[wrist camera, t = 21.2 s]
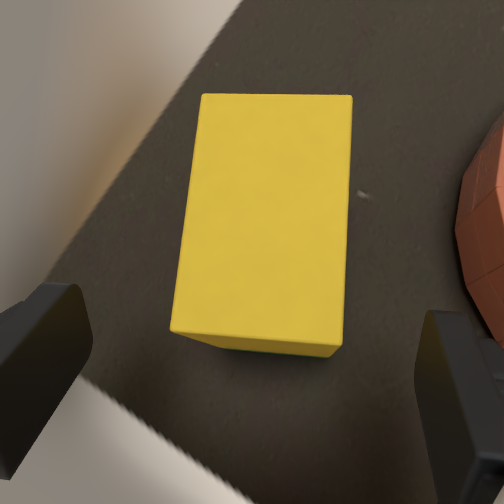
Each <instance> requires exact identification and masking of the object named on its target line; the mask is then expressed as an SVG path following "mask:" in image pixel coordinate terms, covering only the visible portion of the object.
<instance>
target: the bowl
mask: <svg viewBox="0 0 504 504" xmlns="http://www.w3.org/2000/svg"><path fill="white" fill-rule="evenodd" d="M455 233H456V238H457V244H458V249H459V254H460V259H461V264H462V269H463V275H464V280H465V285H466V287H467V289H468V291H469V293H470V295H471V296H472V298H473V300H474V302H475V304H476V306H477V307H478V309H479V311H480V313H481V315H482V316H483V318H484V320H485V322H486V324H487V325H488V327H489V329H490V331H491V333H492V335H493V336H494V338H495V340H496V342H498V344H499V345H500V346H501V347H502V348H503V349H504V111H503V112H502V113H501V115H500V116H499V117H498V119H497V120H496V122H495V123H494V124H493V126H492V127H491V128H490V130H489V131H488V133H487V134H486V136H485V138H484V140H483V141H482V143H481V145H480V147H479V149H478V150H477V152H476V154H475V156H474V157H473V159H472V161H471V163H470V164H469V166H468V168H467V170H466V171H465V173H464V175H463V179H462V186H461V192H460V199H459V205H458V211H457V218H456V224H455Z"/></svg>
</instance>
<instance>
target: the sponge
mask: <svg viewBox="0 0 504 504" xmlns="http://www.w3.org/2000/svg"><path fill="white" fill-rule="evenodd" d="M352 105H353V98H352V96H351V95H290V94H202V96H201V103H200V110H199V118H198V125H197V132H196V140H195V147H194V154H193V162H192V169H191V176H190V184H189V191H188V198H187V206H186V213H185V220H184V228H183V235H182V242H181V250H180V257H179V264H178V272H177V279H176V286H175V294H174V301H173V308H172V316H171V323H170V331H172V332H174V333H177V334H180V335H183V336H186V337H189V338H192V339H195V340H198V341H201V342H204V343H207V344H210V345H213V346H216V347H220V348H223V349H226V350H237V351H248V352H259V353H270V354H282V355H293V356H304V357H315V358H326V359H327V358H329V357H330V356H331V355H332V354H333V353H334V352H335V351H336V350H337V349H338V348H339V347H340V346H341V345H342V343H343V319H344V295H345V271H346V248H347V224H348V200H349V176H350V153H351V129H352Z"/></svg>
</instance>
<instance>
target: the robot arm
mask: <svg viewBox="0 0 504 504" xmlns="http://www.w3.org/2000/svg"><path fill="white" fill-rule="evenodd" d="M92 344H93V336H92V331H91V327H90V323H89V319H88V315H87V311H86V307H85V303H84V299H83V295H82V291H81V289H80V287H79V286H78V285H76V284H66V283H52V282H44V283H42V284H41V285H39V286H38V287H37V289H36V290H35V291H34V292H33V293H32V294H31V295H30V296H29V297H28V298H27V299H26V300H25V301H21V302H19V303H17V304H15V305H14V306H13V307H10V308H9V309H7V310H5V311H4V312H2V313H0V479H4V480H10V479H11V478H12V476H13V474H14V473H15V472H16V470H17V468H18V467H19V465H20V464H21V462H22V461H23V459H24V457H25V456H26V454H27V453H28V451H29V450H30V448H31V447H32V445H33V443H34V442H35V441H36V439H37V437H38V436H39V434H40V433H41V431H42V430H43V428H44V427H45V425H46V424H47V422H48V420H49V419H50V417H51V416H52V414H53V413H54V411H55V410H56V408H57V406H58V405H59V403H60V402H61V400H62V399H63V397H64V396H65V394H66V393H67V391H68V390H69V388H70V386H71V385H72V383H73V382H74V380H75V379H76V377H77V376H78V374H79V373H80V371H81V369H82V368H83V366H84V365H85V363H86V362H87V360H88V358H89V356H90V353H91V350H92ZM414 384H415V392H416V397H417V402H418V407H419V411H420V416H421V421H422V426H423V431H424V435H425V440H426V445H427V450H428V455H429V460H430V464H431V469H432V474H433V479H434V484H435V488H436V493H437V498H438V503H439V504H504V349H503V348H502V347H501V346H500V345H499V344H498V343H497V342H496V341H494V340H493V339H492V338H479V337H477V336H476V333H475V331H474V328H473V326H472V324H471V321H470V319H469V317H468V315H467V314H466V313H465V312H451V311H437V310H428V311H427V313H426V316H425V319H424V324H423V329H422V334H421V338H420V343H419V348H418V352H417V357H416V362H415V370H414Z"/></svg>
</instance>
